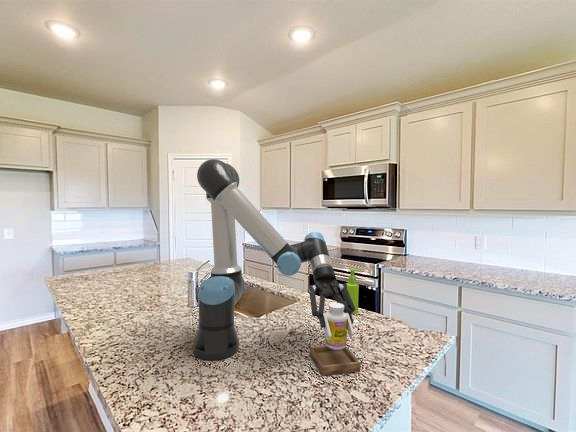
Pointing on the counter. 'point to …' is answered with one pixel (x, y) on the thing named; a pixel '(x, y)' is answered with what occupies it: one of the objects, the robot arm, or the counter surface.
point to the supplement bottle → (337, 326)
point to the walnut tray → (334, 360)
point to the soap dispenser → (353, 289)
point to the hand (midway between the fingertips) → (340, 336)
